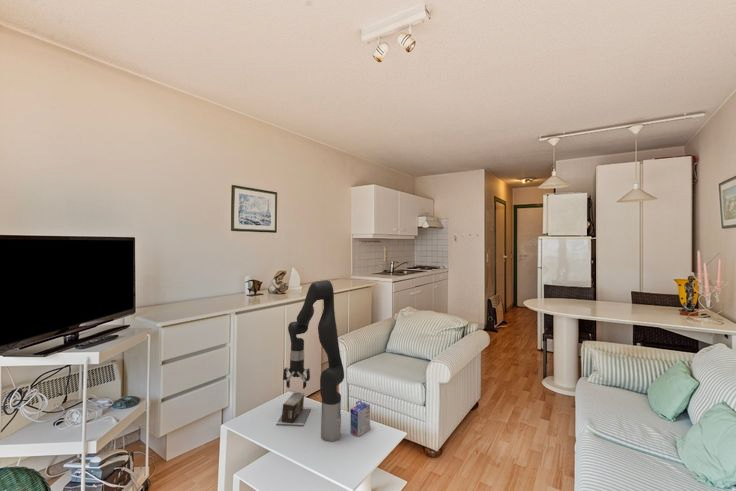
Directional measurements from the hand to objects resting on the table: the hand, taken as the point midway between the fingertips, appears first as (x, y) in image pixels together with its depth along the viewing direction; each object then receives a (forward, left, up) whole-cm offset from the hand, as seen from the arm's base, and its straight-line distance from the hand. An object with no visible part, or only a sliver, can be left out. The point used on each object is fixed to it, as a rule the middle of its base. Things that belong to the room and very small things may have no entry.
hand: (296, 387), depth 183 cm
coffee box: (0, -6, -9) cm, 11 cm away
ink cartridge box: (-36, +13, -15) cm, 41 cm away
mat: (0, +2, -15) cm, 15 cm away
